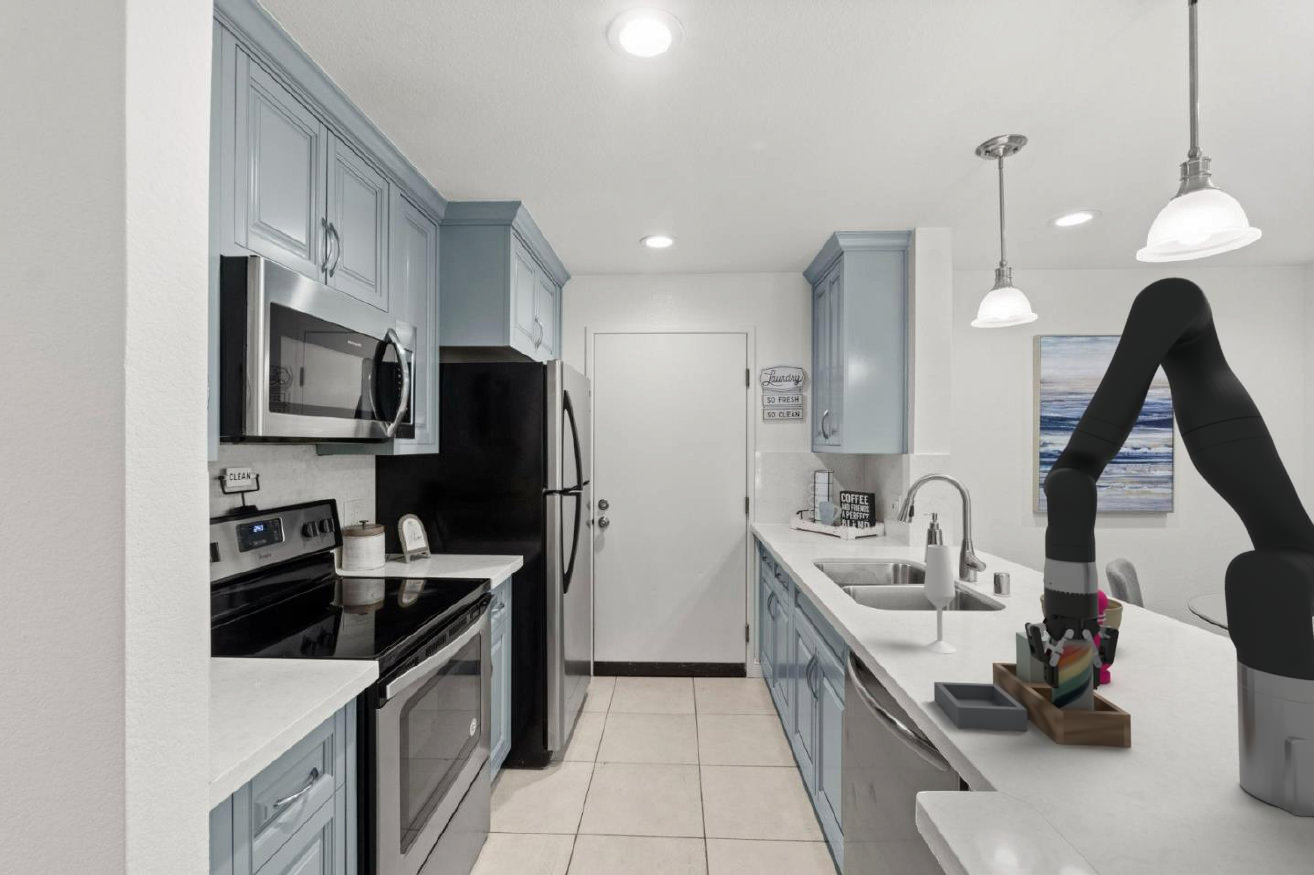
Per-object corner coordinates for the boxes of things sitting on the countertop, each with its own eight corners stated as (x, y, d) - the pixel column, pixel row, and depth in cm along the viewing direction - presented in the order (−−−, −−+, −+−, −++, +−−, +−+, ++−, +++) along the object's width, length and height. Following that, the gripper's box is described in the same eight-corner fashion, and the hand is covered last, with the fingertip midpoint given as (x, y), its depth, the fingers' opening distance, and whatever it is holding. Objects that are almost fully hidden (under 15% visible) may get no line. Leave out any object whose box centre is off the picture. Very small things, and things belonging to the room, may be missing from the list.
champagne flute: (918, 646, 141) (917, 545, 142) (935, 642, 145) (934, 543, 145) (945, 655, 136) (943, 549, 136) (962, 649, 139) (960, 546, 140)
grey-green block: (1059, 707, 108) (1058, 641, 108) (1030, 706, 108) (1029, 640, 109) (1044, 696, 113) (1043, 632, 113) (1016, 695, 113) (1015, 632, 114)
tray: (1027, 731, 99) (1027, 709, 99) (958, 728, 100) (958, 707, 100) (996, 703, 110) (996, 683, 110) (934, 700, 111) (934, 681, 111)
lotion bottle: (1054, 718, 104) (1052, 602, 104) (1095, 727, 100) (1093, 608, 100) (1050, 730, 99) (1048, 609, 100) (1093, 740, 96) (1090, 615, 96)
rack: (1131, 746, 94) (1130, 714, 94) (1057, 743, 95) (1056, 711, 95) (1052, 690, 116) (1052, 664, 116) (993, 688, 117) (992, 662, 117)
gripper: (1037, 590, 97) (1038, 694, 97) (1131, 592, 96) (1133, 698, 95) (1014, 580, 105) (1015, 677, 104) (1101, 582, 103) (1103, 680, 103)
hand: (1071, 686), depth 100 cm, fingers closed on lotion bottle, 5 cm apart
